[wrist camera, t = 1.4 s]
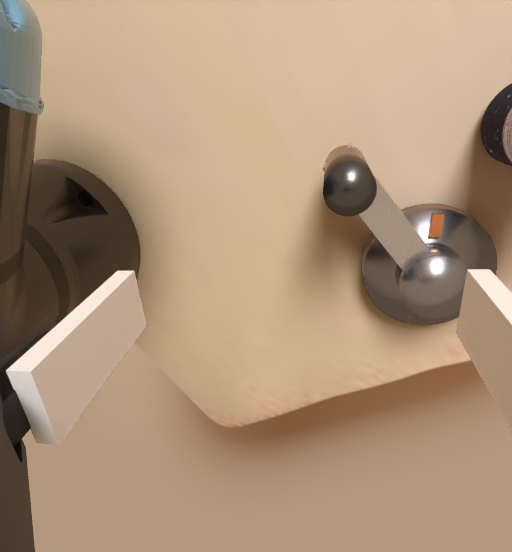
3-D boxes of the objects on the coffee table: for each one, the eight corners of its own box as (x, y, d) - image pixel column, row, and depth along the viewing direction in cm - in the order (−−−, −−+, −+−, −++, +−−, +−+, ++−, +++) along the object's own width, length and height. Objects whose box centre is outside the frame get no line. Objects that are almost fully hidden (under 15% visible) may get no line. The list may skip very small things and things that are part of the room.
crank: (474, 277, 31) (524, 341, 23) (417, 310, 33) (445, 379, 25) (361, 124, 28) (374, 137, 20) (305, 171, 30) (296, 199, 22)
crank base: (357, 309, 36) (358, 322, 34) (366, 202, 32) (369, 210, 30) (473, 316, 34) (483, 330, 32) (500, 204, 30) (513, 212, 28)
